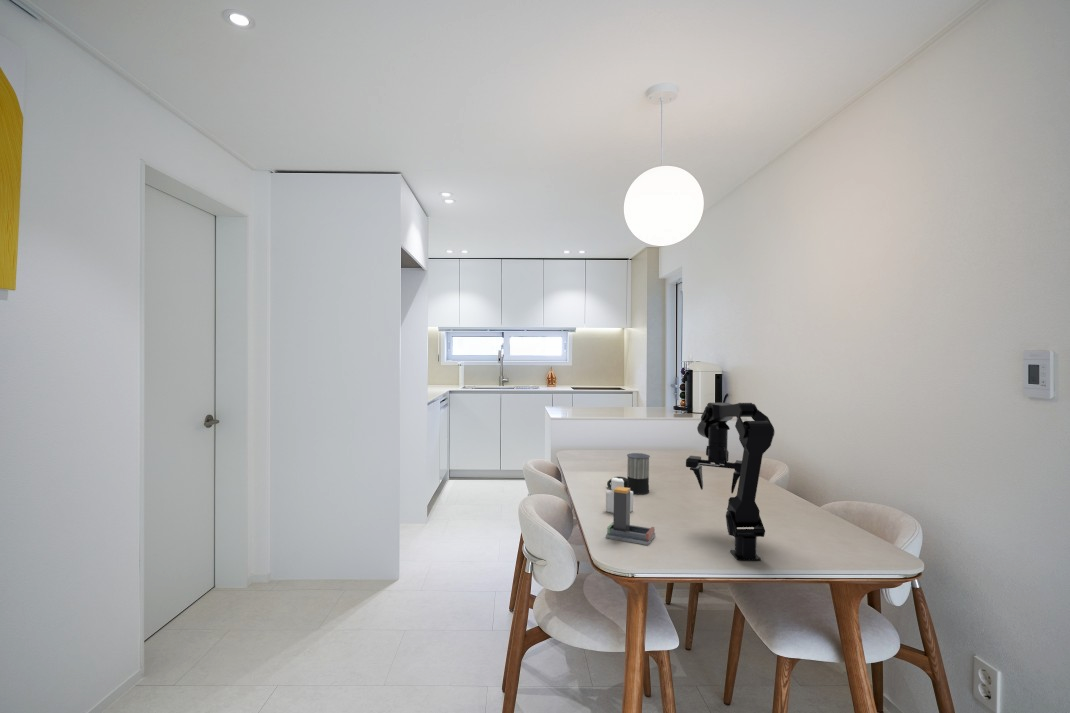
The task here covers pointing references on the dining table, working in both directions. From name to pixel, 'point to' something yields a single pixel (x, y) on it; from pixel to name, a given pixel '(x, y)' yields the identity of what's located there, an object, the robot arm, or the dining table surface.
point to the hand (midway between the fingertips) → (716, 491)
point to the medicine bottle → (610, 494)
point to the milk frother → (637, 473)
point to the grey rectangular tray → (632, 534)
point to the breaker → (621, 509)
